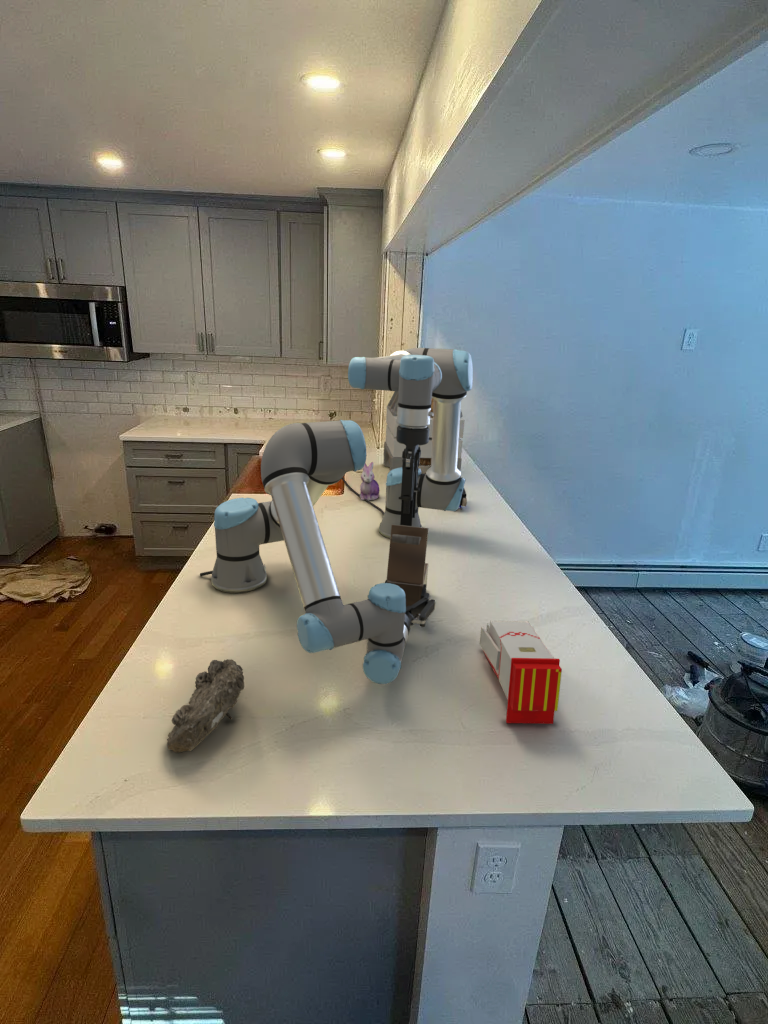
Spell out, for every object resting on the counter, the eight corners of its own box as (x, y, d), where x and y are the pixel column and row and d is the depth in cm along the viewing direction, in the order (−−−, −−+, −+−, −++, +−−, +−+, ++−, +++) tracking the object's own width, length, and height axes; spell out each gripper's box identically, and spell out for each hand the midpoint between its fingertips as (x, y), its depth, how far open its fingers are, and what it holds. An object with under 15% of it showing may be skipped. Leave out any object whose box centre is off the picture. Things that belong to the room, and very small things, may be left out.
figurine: (364, 502, 230) (365, 466, 225) (353, 495, 238) (354, 460, 233) (384, 500, 234) (386, 464, 229) (373, 492, 242) (375, 458, 237)
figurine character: (467, 515, 225) (461, 499, 238) (469, 498, 221) (463, 482, 235) (450, 514, 224) (445, 498, 238) (452, 497, 221) (447, 482, 234)
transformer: (382, 463, 289) (386, 382, 275) (445, 464, 293) (451, 384, 279) (390, 482, 257) (394, 392, 243) (460, 483, 261) (468, 394, 247)
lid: (392, 524, 145) (387, 527, 136) (428, 528, 143) (425, 531, 135) (387, 579, 146) (381, 585, 137) (423, 583, 144) (419, 590, 136)
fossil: (192, 660, 117) (244, 628, 112) (224, 691, 120) (276, 661, 115) (142, 746, 98) (202, 712, 93) (182, 779, 101) (242, 748, 96)
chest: (393, 587, 161) (395, 559, 158) (426, 591, 160) (428, 563, 157) (385, 611, 148) (386, 582, 145) (420, 616, 147) (422, 586, 144)
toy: (526, 605, 135) (570, 665, 105) (521, 658, 137) (563, 730, 108) (475, 604, 134) (506, 664, 105) (472, 657, 137) (500, 729, 108)
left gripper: (344, 639, 130) (364, 594, 151) (439, 652, 127) (446, 604, 148) (344, 610, 128) (365, 569, 149) (442, 623, 125) (449, 578, 145)
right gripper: (425, 434, 120) (418, 536, 128) (433, 419, 137) (426, 510, 145) (390, 432, 121) (386, 532, 129) (402, 417, 138) (397, 507, 146)
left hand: (405, 586), depth 148 cm, fingers closed on chest, 9 cm apart
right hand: (407, 520), depth 137 cm, fingers open, 5 cm apart
